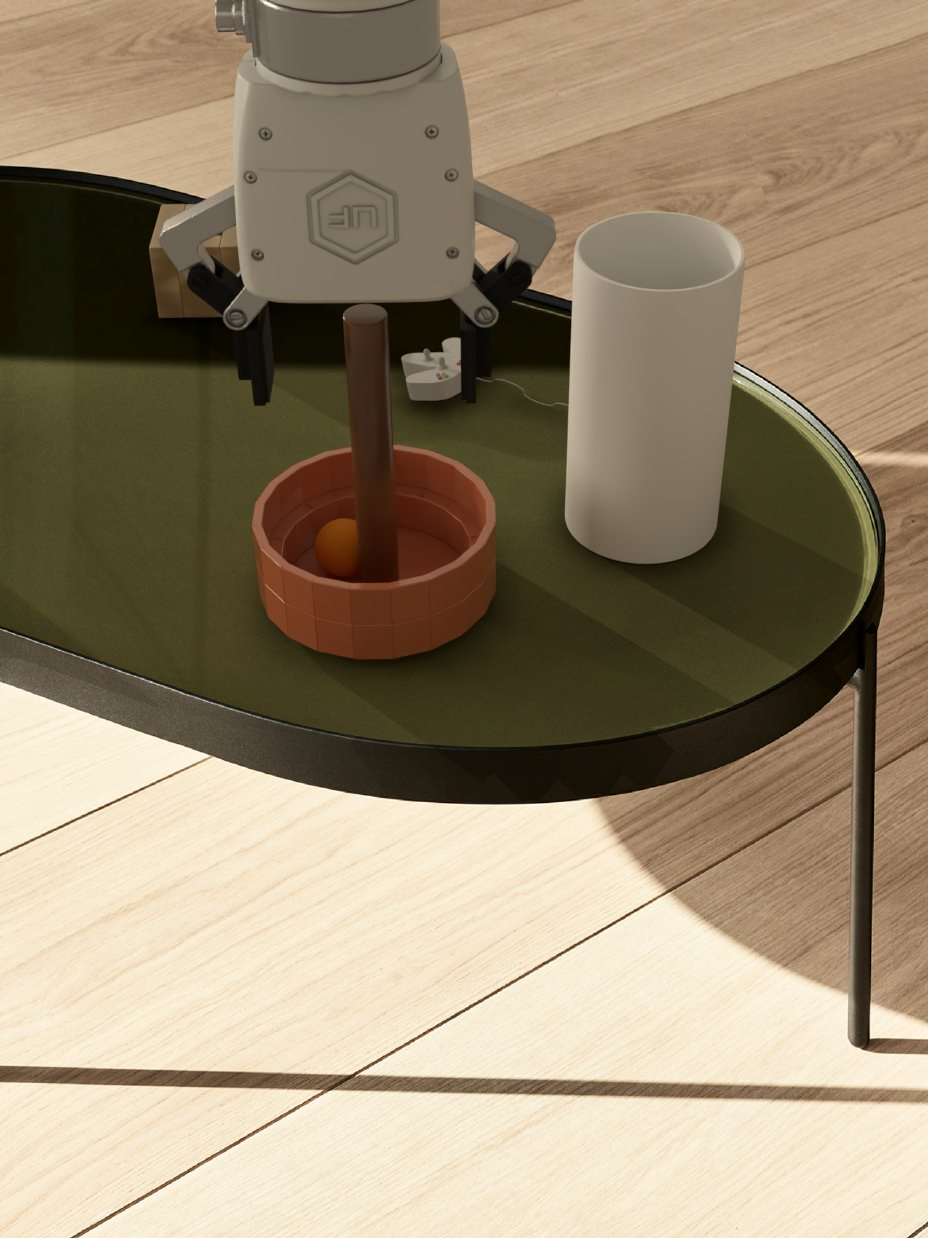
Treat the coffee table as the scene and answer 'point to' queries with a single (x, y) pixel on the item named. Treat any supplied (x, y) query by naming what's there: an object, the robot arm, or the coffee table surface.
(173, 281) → the holder
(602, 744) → the coffee table surface
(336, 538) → the ball
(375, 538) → the stick
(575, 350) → the cup
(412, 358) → the game controller
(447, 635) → the bowl
